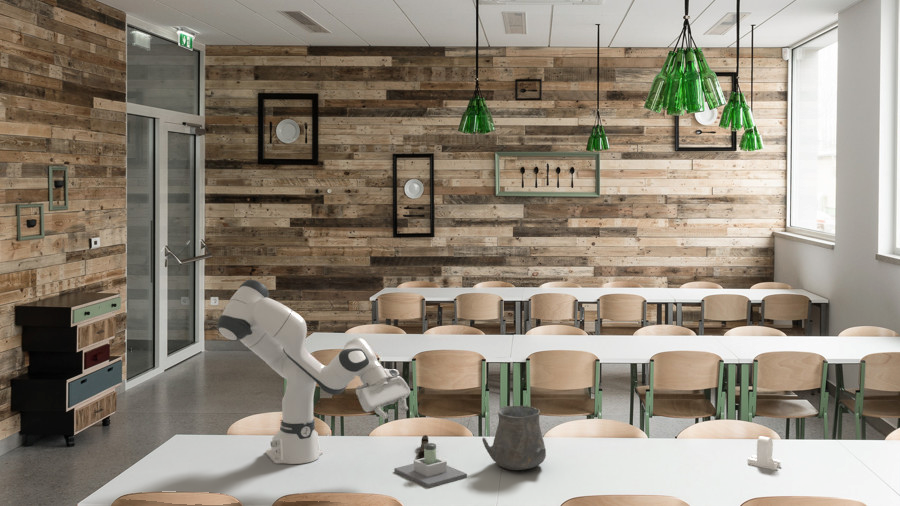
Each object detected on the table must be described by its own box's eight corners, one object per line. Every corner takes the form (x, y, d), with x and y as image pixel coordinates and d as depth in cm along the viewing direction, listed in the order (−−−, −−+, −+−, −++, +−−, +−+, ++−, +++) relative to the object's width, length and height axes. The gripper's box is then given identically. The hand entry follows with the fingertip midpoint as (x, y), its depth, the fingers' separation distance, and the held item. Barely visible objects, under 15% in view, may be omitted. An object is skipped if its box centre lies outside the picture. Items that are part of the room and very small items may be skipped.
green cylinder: (422, 471, 277) (421, 445, 276) (428, 468, 280) (428, 442, 280) (431, 473, 275) (431, 447, 274) (438, 470, 278) (438, 444, 278)
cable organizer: (775, 470, 280) (775, 441, 279) (746, 463, 286) (747, 435, 286) (781, 466, 284) (781, 438, 283) (752, 460, 290) (753, 432, 290)
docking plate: (394, 471, 281) (394, 458, 280) (431, 462, 290) (431, 449, 290) (428, 487, 265) (428, 473, 264) (466, 477, 274) (466, 463, 274)
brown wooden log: (429, 461, 292) (429, 449, 292) (418, 461, 292) (418, 448, 292) (432, 445, 311) (432, 433, 311) (422, 445, 311) (422, 433, 311)
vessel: (558, 460, 292) (558, 405, 290) (538, 479, 272) (538, 420, 270) (501, 452, 301) (501, 399, 299) (478, 471, 281) (478, 413, 279)
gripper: (357, 383, 271) (378, 418, 266) (400, 368, 286) (421, 402, 281) (348, 392, 274) (369, 427, 270) (392, 378, 290) (411, 411, 285)
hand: (396, 414), depth 276 cm, fingers open, 8 cm apart
